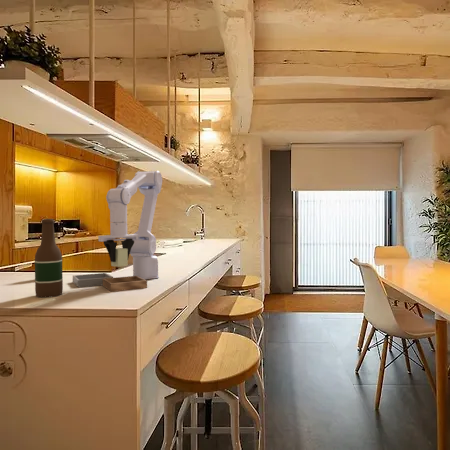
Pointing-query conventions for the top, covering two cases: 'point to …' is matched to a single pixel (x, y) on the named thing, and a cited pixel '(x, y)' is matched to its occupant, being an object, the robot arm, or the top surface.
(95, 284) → the grey bin
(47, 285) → the beer bottle
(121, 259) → the sage block
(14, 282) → the top surface
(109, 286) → the walnut bin
